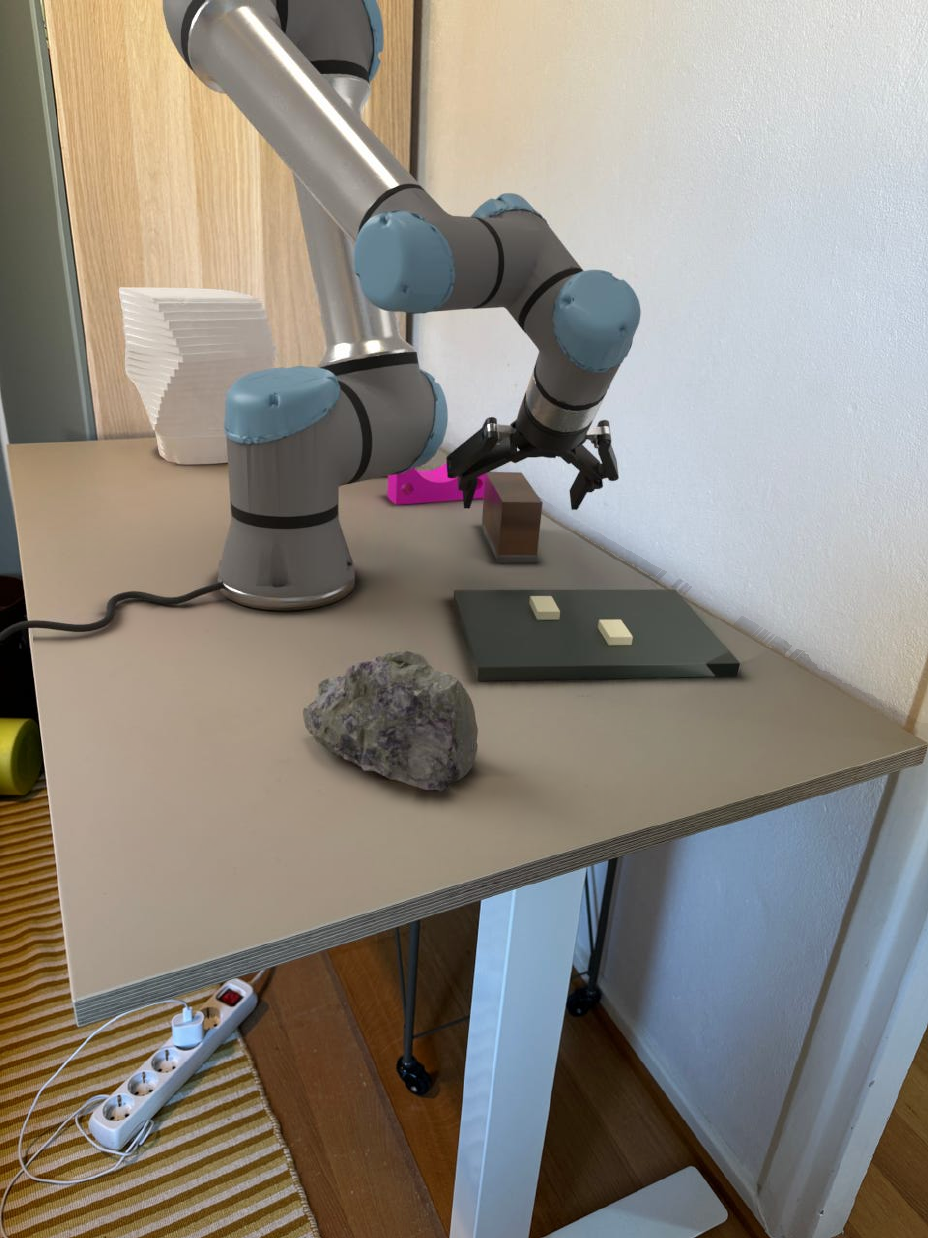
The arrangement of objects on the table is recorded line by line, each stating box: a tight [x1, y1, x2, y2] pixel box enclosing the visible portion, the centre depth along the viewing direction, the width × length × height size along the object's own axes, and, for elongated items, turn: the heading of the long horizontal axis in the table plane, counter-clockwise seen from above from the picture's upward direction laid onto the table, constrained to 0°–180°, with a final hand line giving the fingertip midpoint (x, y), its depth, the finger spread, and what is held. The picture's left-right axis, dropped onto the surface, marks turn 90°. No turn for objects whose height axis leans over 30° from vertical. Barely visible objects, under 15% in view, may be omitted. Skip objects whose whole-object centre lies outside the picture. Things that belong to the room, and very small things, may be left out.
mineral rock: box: [302, 649, 479, 793], centre depth 68 cm, size 13×11×10 cm
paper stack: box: [118, 286, 277, 466], centre depth 141 cm, size 21×27×26 cm
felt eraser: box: [481, 471, 543, 564], centre depth 114 cm, size 13×5×8 cm, turn 8°
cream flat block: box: [598, 620, 633, 645], centre depth 89 cm, size 4×2×1 cm, turn 8°
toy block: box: [387, 461, 485, 506], centre depth 132 cm, size 15×6×8 cm, turn 114°
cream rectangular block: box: [529, 596, 560, 620], centre depth 93 cm, size 4×2×1 cm, turn 8°
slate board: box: [452, 588, 741, 682], centre depth 91 cm, size 18×26×2 cm
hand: (520, 499), depth 108 cm, fingers open, 13 cm apart
